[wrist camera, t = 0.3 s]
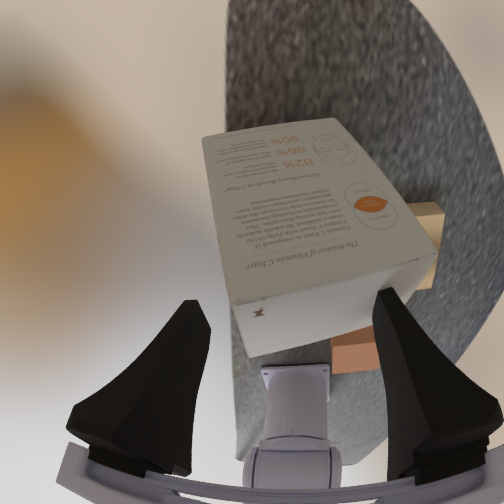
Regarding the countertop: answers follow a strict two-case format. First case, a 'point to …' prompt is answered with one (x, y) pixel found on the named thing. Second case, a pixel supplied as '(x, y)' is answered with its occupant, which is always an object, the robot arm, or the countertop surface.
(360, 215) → the small box
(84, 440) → the robot arm
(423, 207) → the base slab
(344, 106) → the countertop surface
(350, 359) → the block
